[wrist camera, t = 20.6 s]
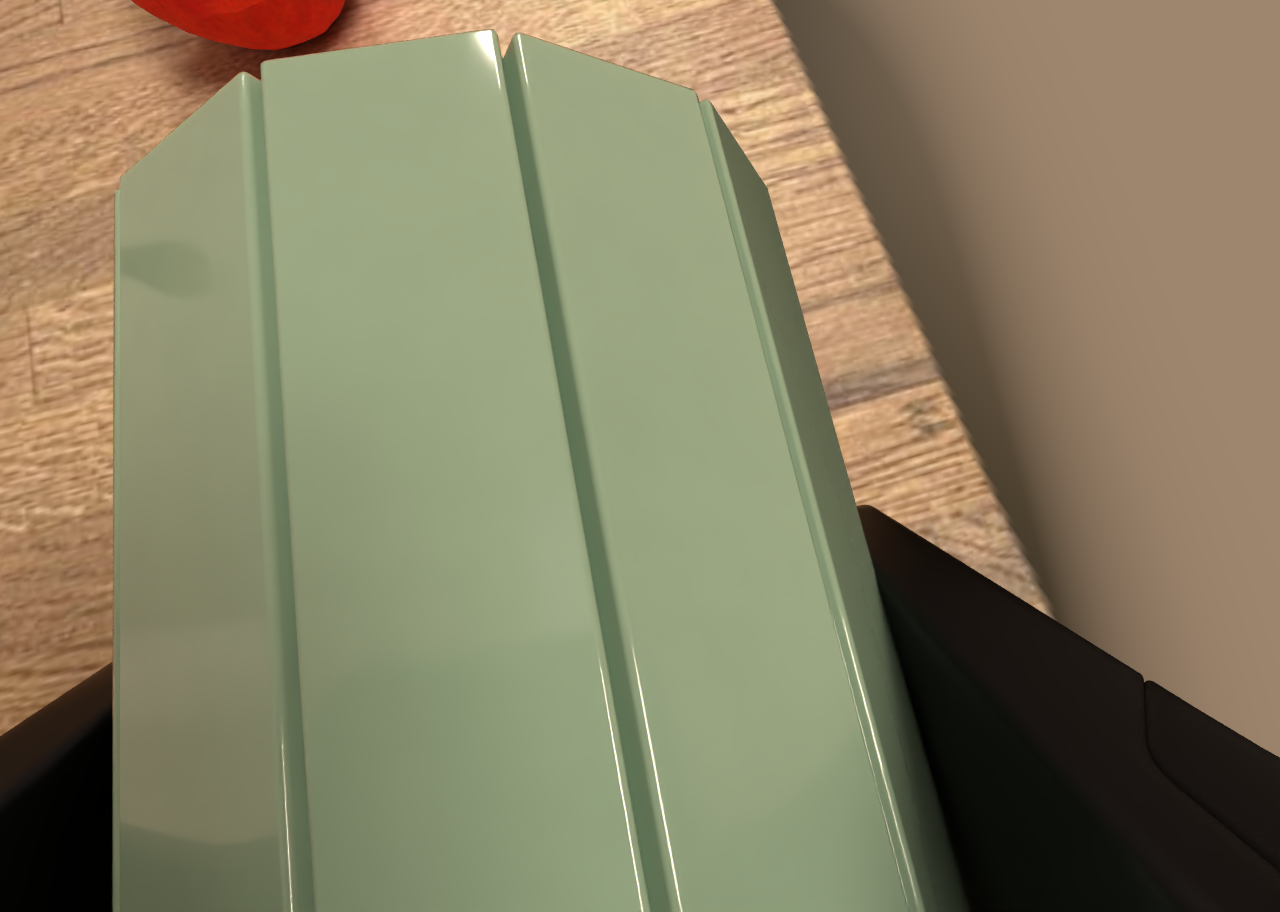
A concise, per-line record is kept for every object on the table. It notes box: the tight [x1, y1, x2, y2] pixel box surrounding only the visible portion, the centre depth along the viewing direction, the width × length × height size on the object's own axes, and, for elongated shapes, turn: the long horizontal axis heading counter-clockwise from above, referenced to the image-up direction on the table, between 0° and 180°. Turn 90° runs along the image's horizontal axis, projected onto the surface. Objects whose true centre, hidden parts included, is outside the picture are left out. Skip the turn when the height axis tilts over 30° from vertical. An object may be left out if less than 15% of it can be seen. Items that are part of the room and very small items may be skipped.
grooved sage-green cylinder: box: [112, 29, 970, 912], centre depth 7 cm, size 11×7×7 cm, turn 11°
